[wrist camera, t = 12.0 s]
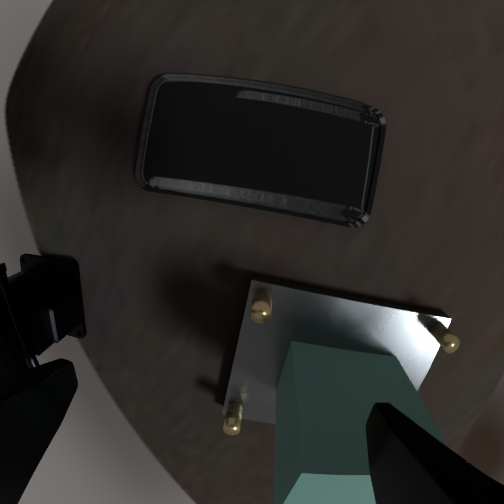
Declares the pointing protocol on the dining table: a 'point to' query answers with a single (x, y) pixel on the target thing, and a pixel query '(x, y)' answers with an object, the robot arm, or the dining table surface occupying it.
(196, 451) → the dining table surface
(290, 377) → the teal rectangular block
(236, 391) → the chassis
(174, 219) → the dining table surface
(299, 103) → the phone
